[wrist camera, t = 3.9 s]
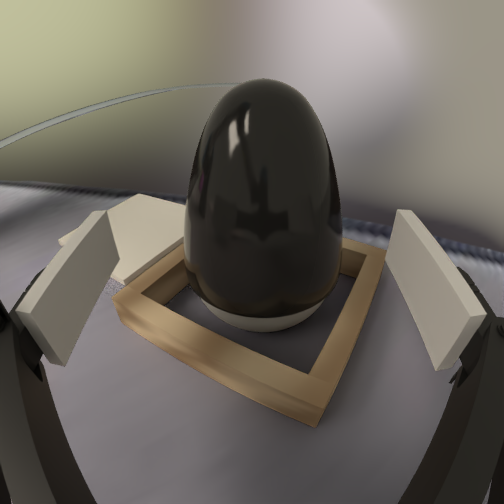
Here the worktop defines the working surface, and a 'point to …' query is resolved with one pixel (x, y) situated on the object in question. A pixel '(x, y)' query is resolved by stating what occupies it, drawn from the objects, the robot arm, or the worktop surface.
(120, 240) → the tile
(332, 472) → the worktop surface
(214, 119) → the black egg-shaped piece
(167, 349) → the wooden picture frame
